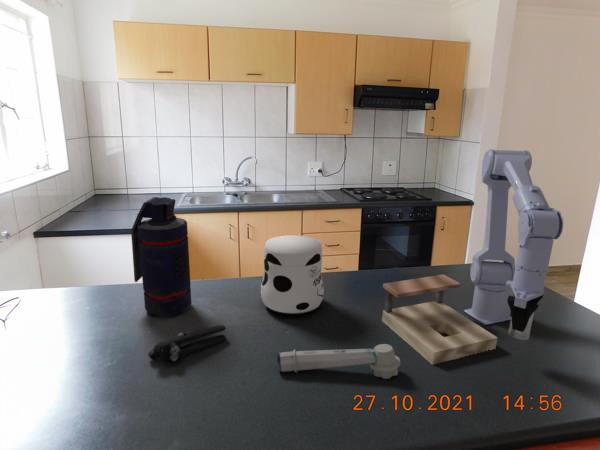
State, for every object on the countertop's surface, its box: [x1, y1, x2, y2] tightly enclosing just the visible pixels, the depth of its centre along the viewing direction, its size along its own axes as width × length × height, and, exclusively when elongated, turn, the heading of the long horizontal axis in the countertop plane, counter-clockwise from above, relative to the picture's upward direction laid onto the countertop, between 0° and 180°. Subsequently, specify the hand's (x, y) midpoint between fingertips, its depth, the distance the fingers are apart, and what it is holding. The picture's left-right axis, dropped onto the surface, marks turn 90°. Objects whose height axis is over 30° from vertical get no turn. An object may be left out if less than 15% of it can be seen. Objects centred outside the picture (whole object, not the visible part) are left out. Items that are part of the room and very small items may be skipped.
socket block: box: [381, 274, 498, 366], centre depth 99 cm, size 19×20×10 cm
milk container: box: [260, 234, 325, 316], centre depth 111 cm, size 17×17×18 cm
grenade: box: [130, 196, 192, 318], centre depth 106 cm, size 14×12×30 cm
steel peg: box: [508, 312, 535, 341], centre depth 88 cm, size 4×4×7 cm
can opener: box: [147, 324, 227, 365], centre depth 91 cm, size 18×7×6 cm, turn 130°
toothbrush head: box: [276, 343, 401, 380], centre depth 85 cm, size 5×7×25 cm
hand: (520, 325), depth 88 cm, fingers closed on steel peg, 4 cm apart
